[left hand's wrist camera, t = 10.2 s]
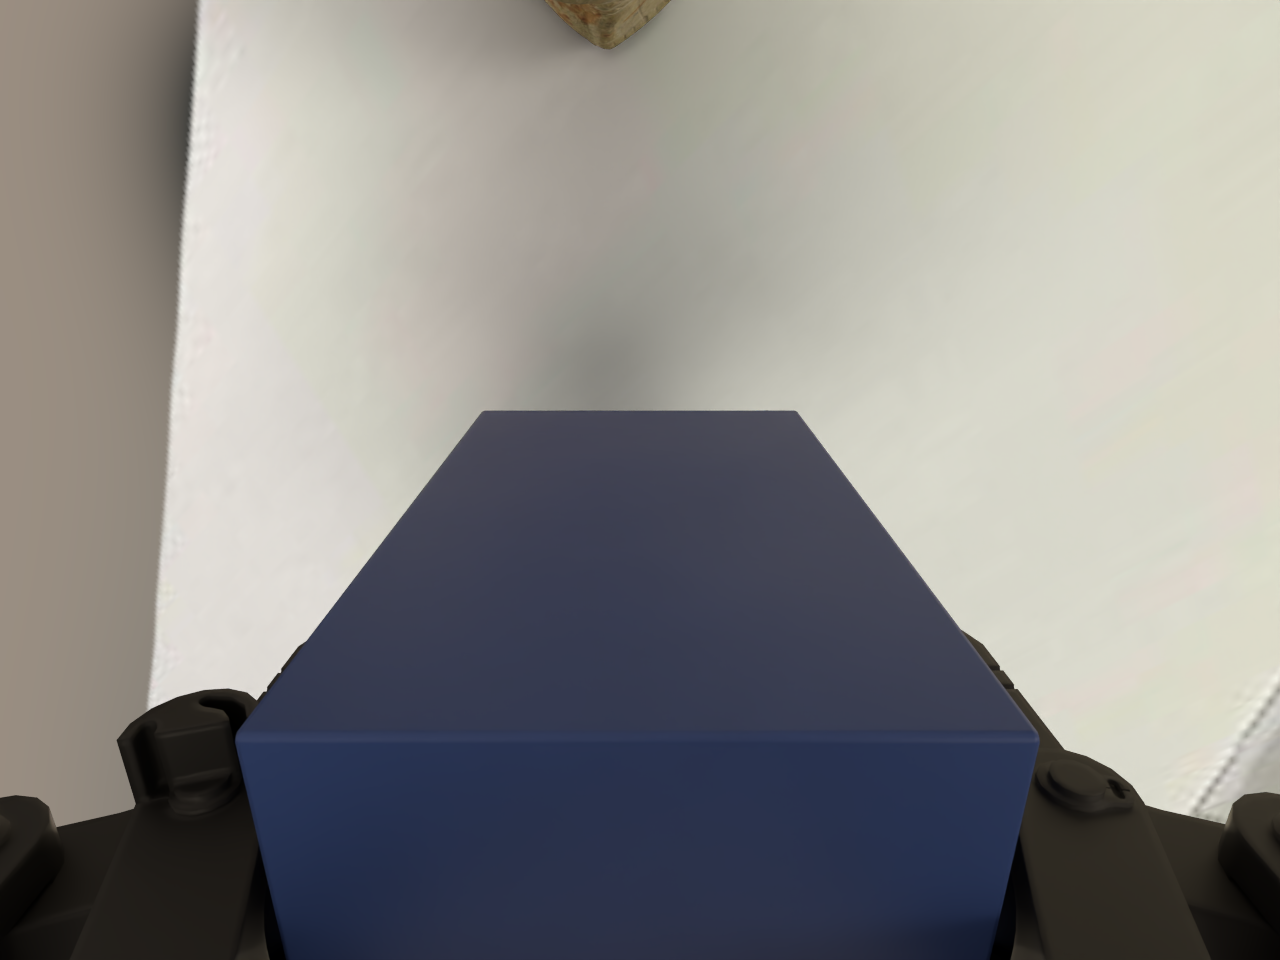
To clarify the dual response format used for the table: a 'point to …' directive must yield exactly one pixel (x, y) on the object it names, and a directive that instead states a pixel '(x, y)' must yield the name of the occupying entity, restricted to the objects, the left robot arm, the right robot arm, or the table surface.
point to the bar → (637, 716)
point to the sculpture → (607, 18)
